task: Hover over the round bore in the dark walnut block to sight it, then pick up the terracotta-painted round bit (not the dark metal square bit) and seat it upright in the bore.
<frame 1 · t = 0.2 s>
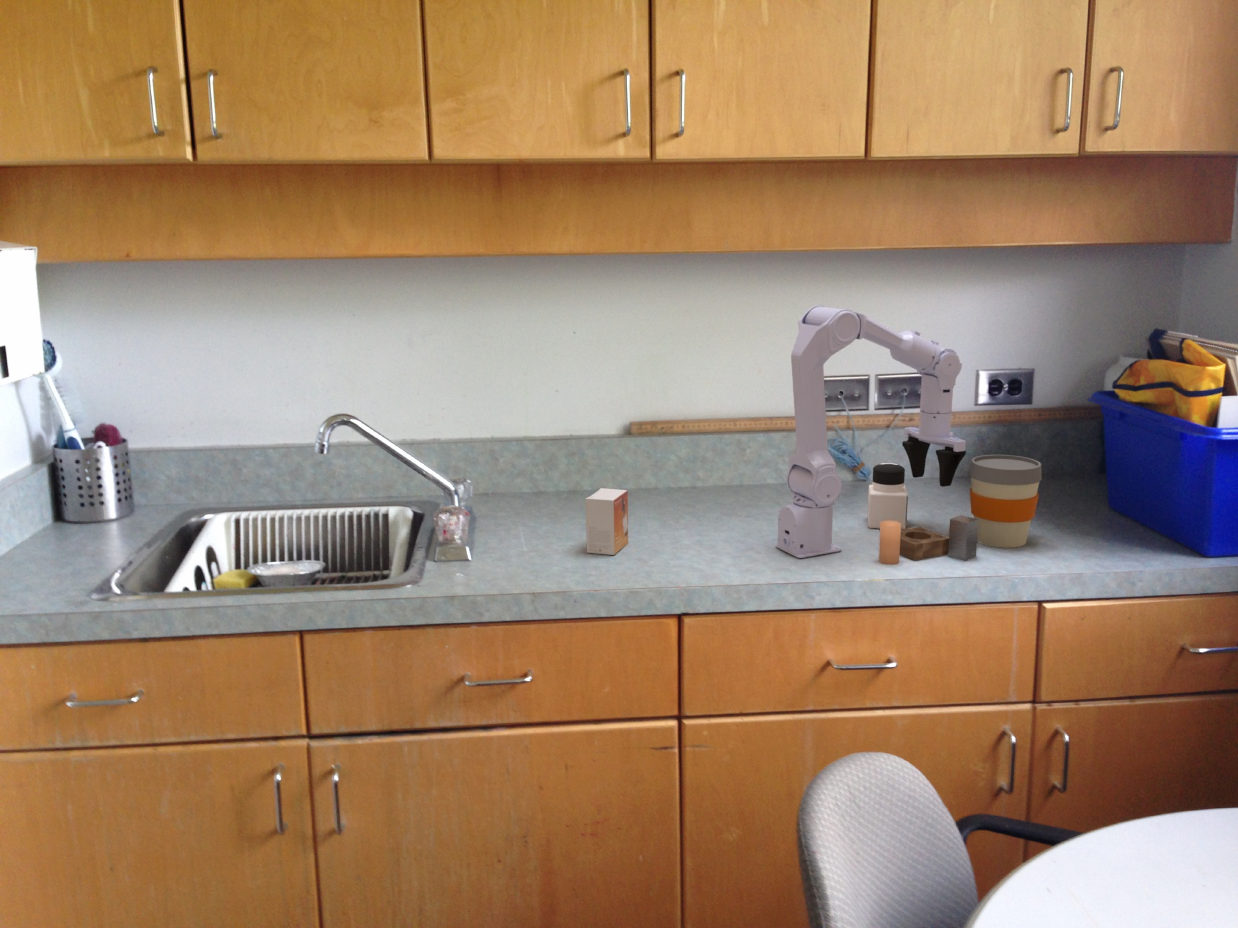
hand: (931, 481, 197), 10 cm above the worktop, tool pointing down, fingers open, 7 cm apart
square bit: (961, 556, 185), on the worktop
small box: (608, 549, 193), on the worktop
medicine bottle: (886, 525, 205), on the worktop
reusable coffee cup: (1000, 541, 193), on the worktop
round bit: (888, 561, 183), on the worktop
bore block: (917, 551, 188), on the worktop
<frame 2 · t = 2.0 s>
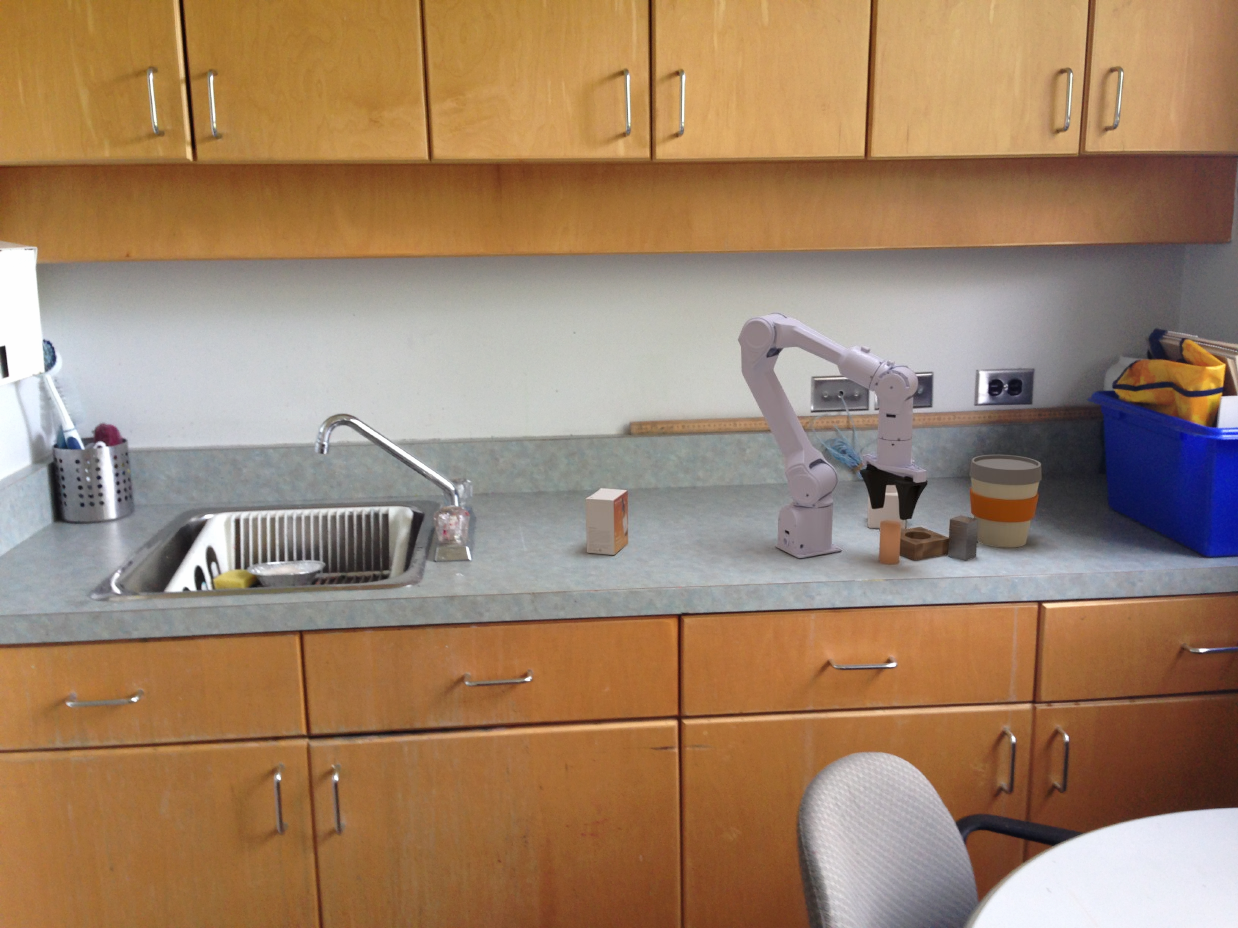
hand: (891, 513, 181), 9 cm above the worktop, tool pointing down, fingers open, 7 cm apart
nothing on the worktop moved.
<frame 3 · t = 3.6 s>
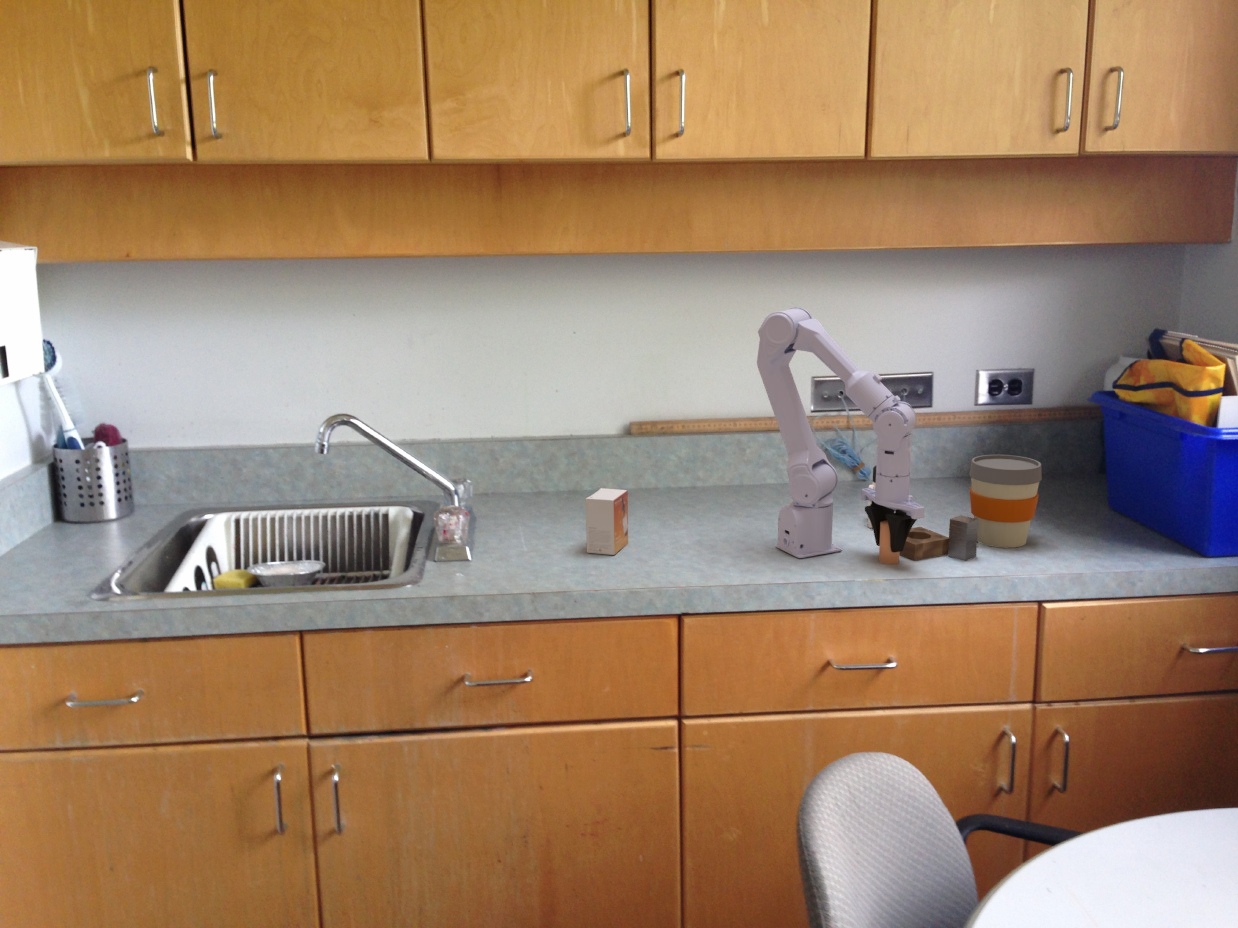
hand: (889, 548, 182), 2 cm above the worktop, tool pointing down, fingers closed on round bit, 3 cm apart
round bit: (888, 561, 183), on the worktop, touching gripper
everything else where it was.
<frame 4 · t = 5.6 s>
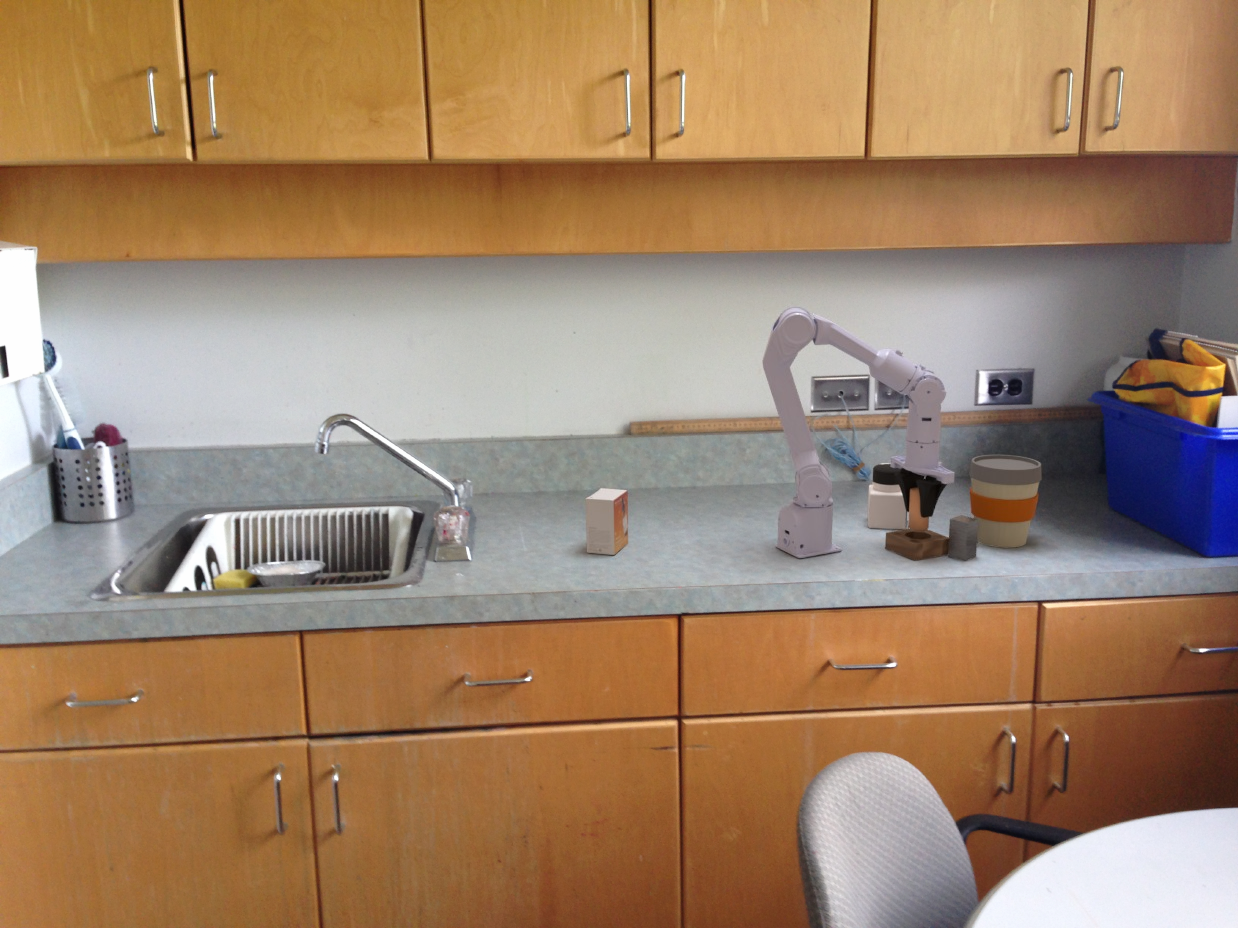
hand: (919, 513, 186), 7 cm above the worktop, tool pointing down, fingers closed on round bit, 3 cm apart
round bit: (918, 527, 187), point 5 cm above the worktop, touching gripper
everything else where it was.
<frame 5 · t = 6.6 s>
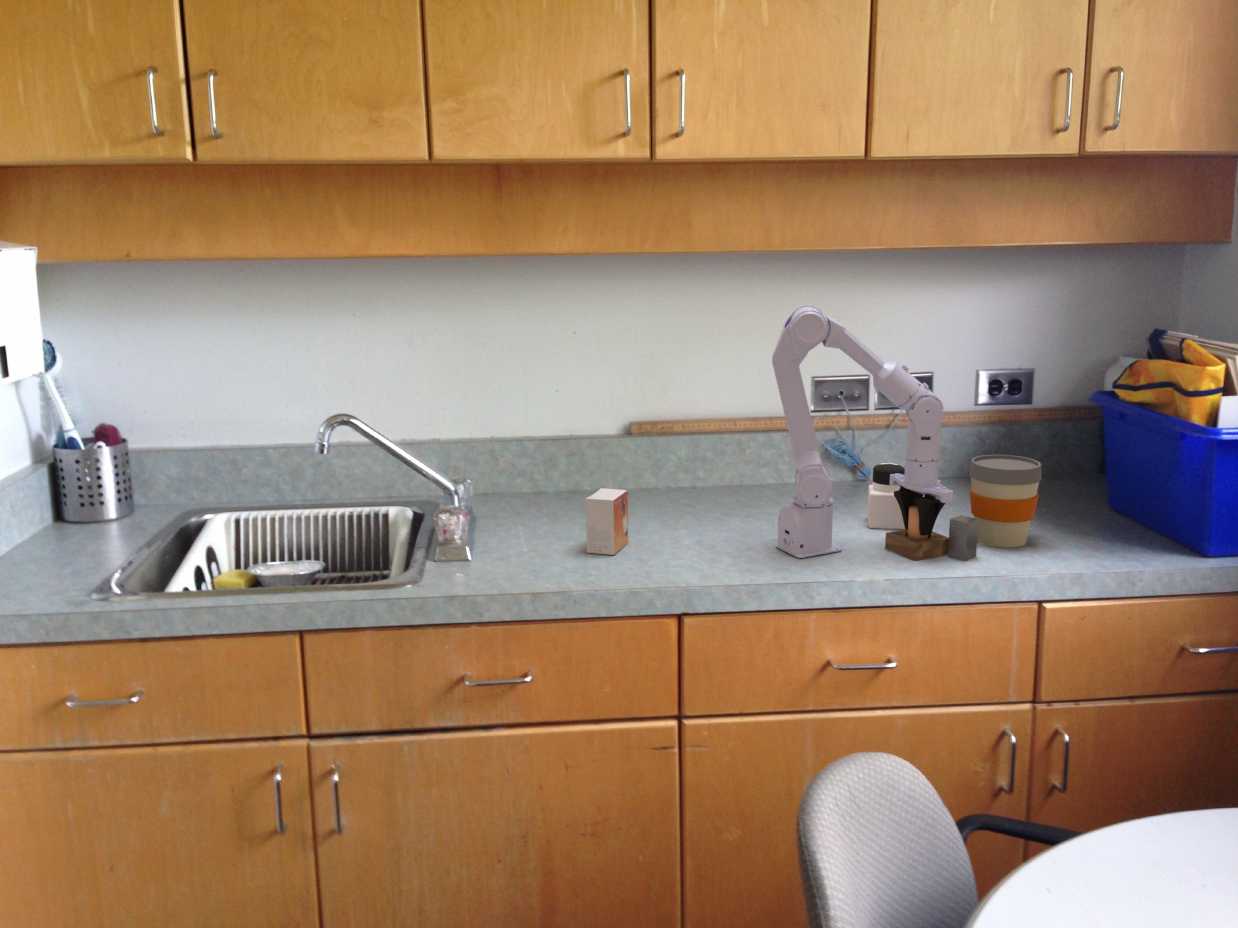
hand: (918, 531, 187), 4 cm above the worktop, tool pointing down, fingers closed on round bit, 3 cm apart
round bit: (917, 544, 188), point 1 cm above the worktop, touching gripper
everything else where it was.
when the fingers open (4 cm above the worktop, at t = 7.4 s): round bit drops 1 cm, resting in bore block.
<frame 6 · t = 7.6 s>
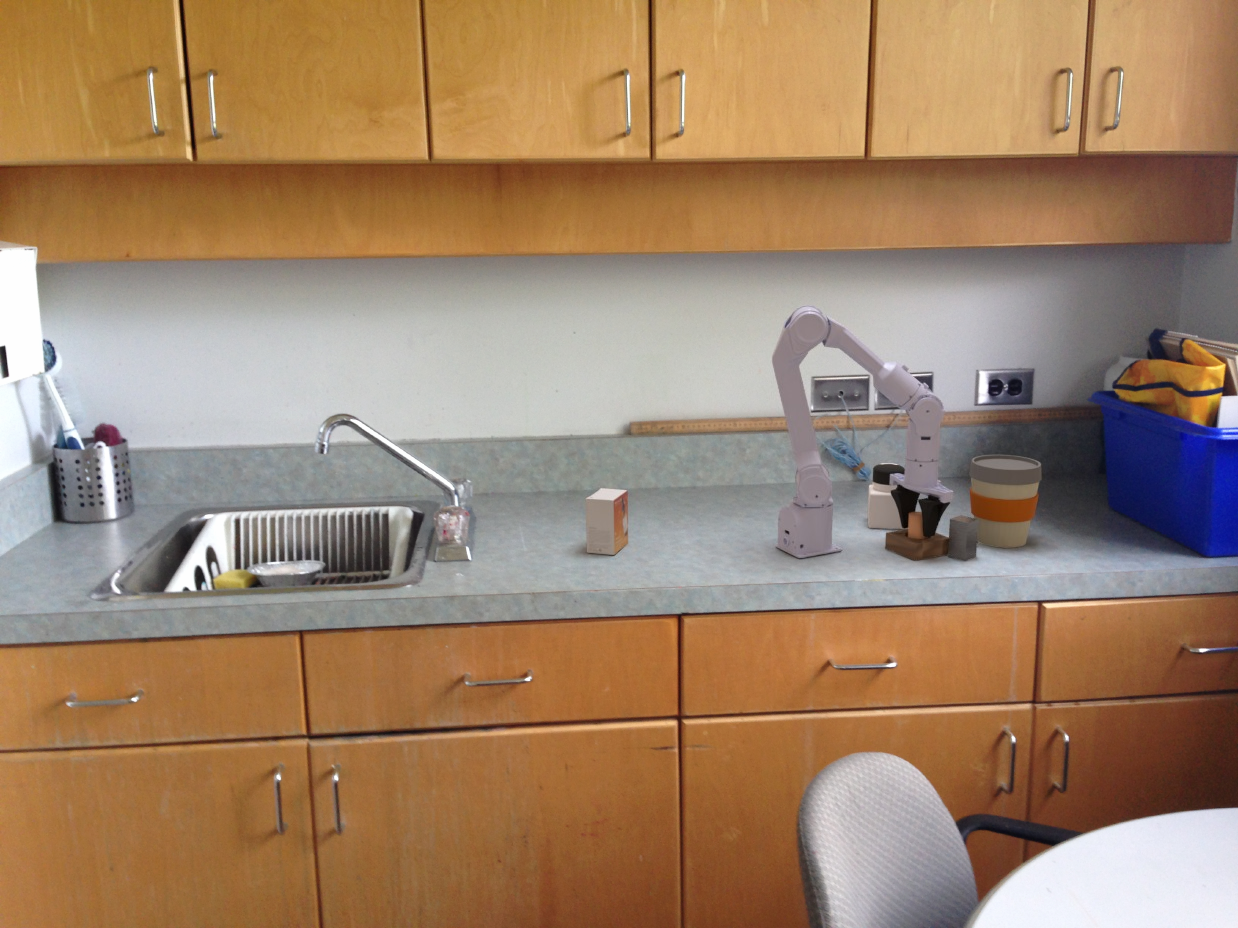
hand: (918, 531, 187), 4 cm above the worktop, tool pointing down, fingers open, 5 cm apart
round bit: (916, 551, 188), resting in bore block
everything else where it was.
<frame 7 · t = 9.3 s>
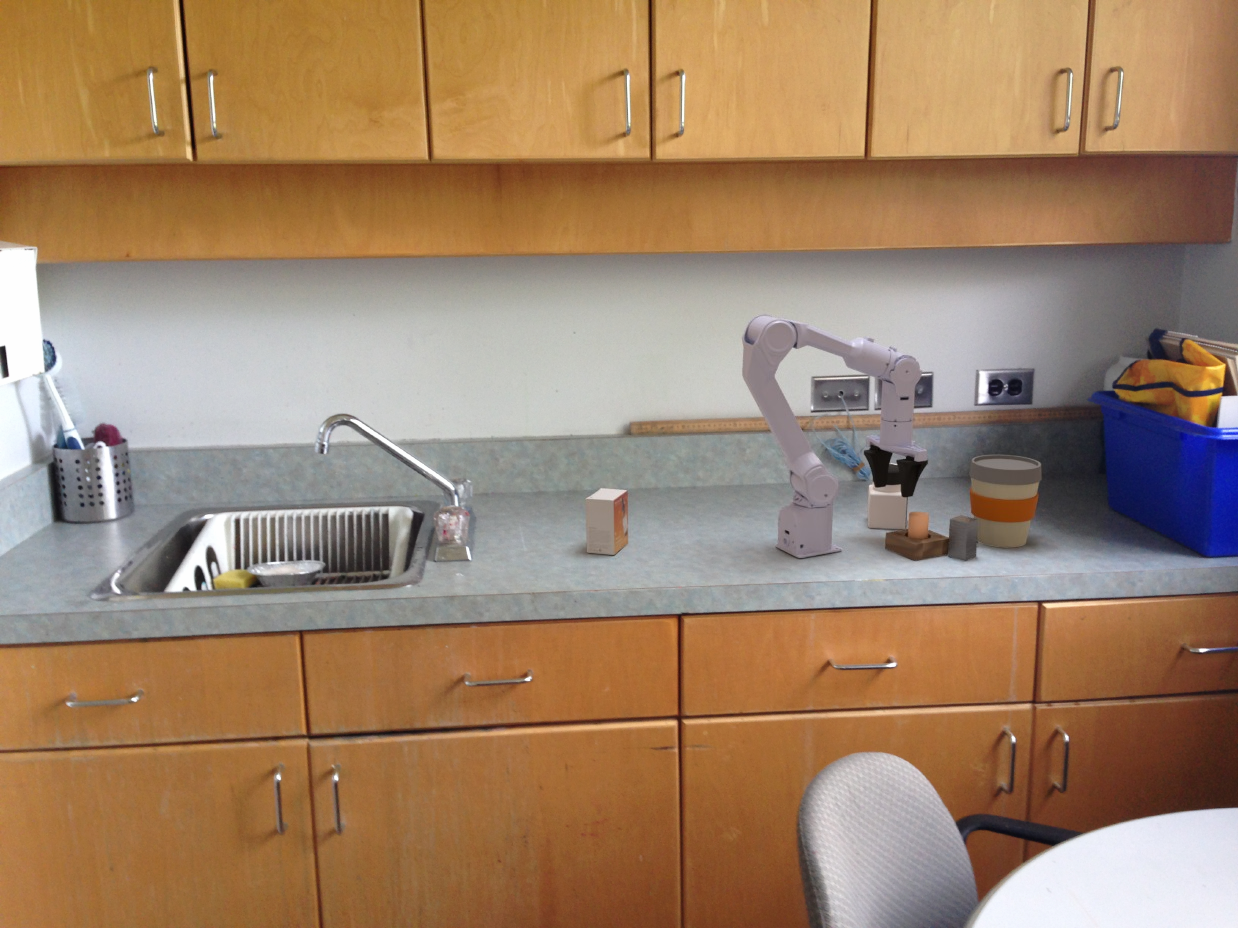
hand: (893, 491, 190), 10 cm above the worktop, tool pointing down, fingers open, 7 cm apart
nothing on the worktop moved.
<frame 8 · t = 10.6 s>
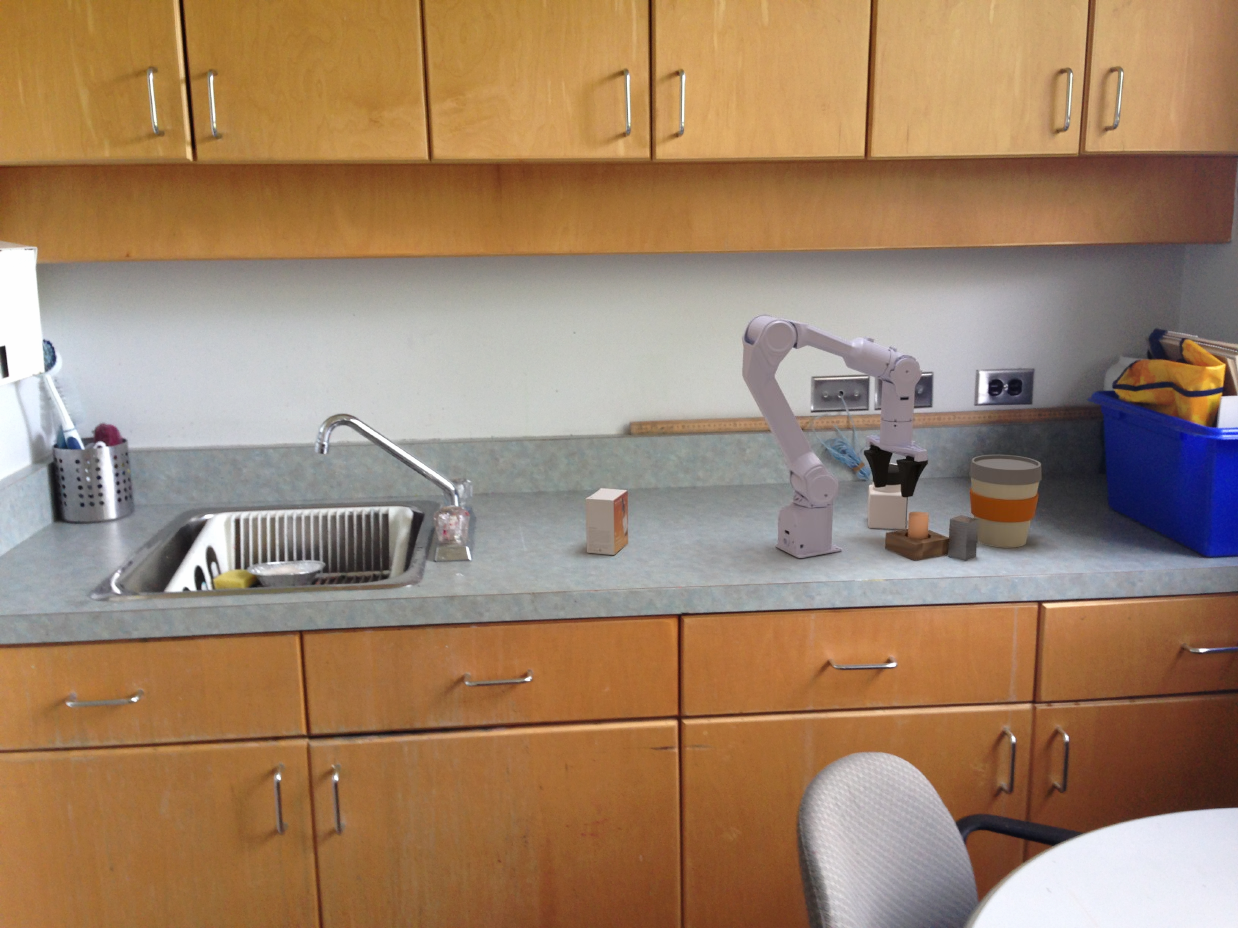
hand: (893, 491, 190), 10 cm above the worktop, tool pointing down, fingers open, 7 cm apart
nothing on the worktop moved.
at the end: round bit 0.0 cm off-centre on the bore block, point 0.0 cm above the bore block's base; round bit tilted 0°; the gripper is holding nothing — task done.
